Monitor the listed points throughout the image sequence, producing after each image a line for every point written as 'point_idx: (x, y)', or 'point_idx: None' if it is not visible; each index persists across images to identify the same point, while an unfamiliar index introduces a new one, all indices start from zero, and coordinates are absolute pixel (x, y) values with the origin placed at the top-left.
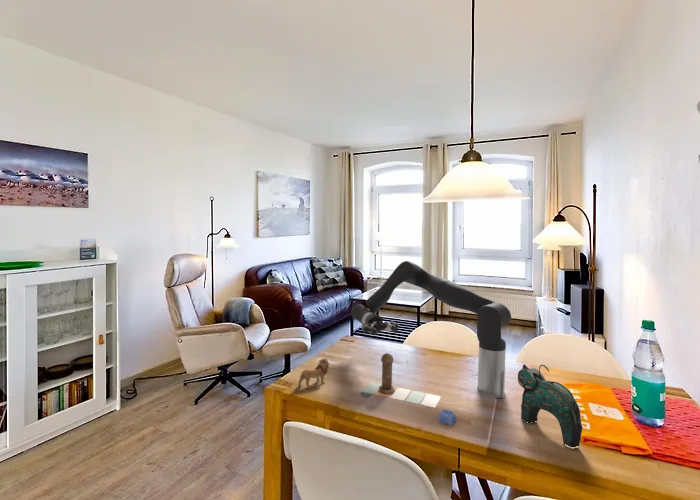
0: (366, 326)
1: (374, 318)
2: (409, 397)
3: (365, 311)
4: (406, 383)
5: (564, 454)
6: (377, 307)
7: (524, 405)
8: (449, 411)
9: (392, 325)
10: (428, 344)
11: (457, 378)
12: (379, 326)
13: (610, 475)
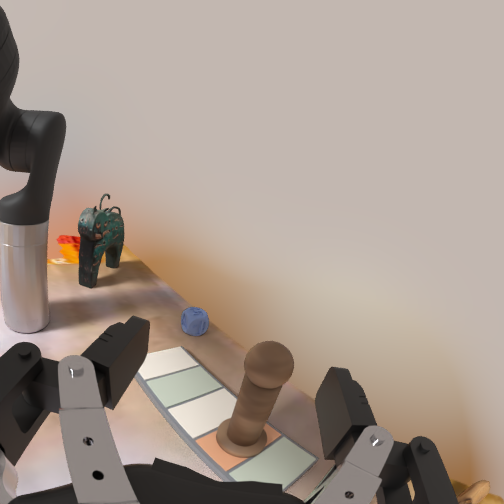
0: (423, 441)
1: None
2: (201, 390)
3: None
4: (126, 463)
5: (131, 268)
6: None
7: (96, 263)
8: (190, 311)
9: (95, 367)
10: None
11: None
12: (236, 487)
13: (133, 256)
